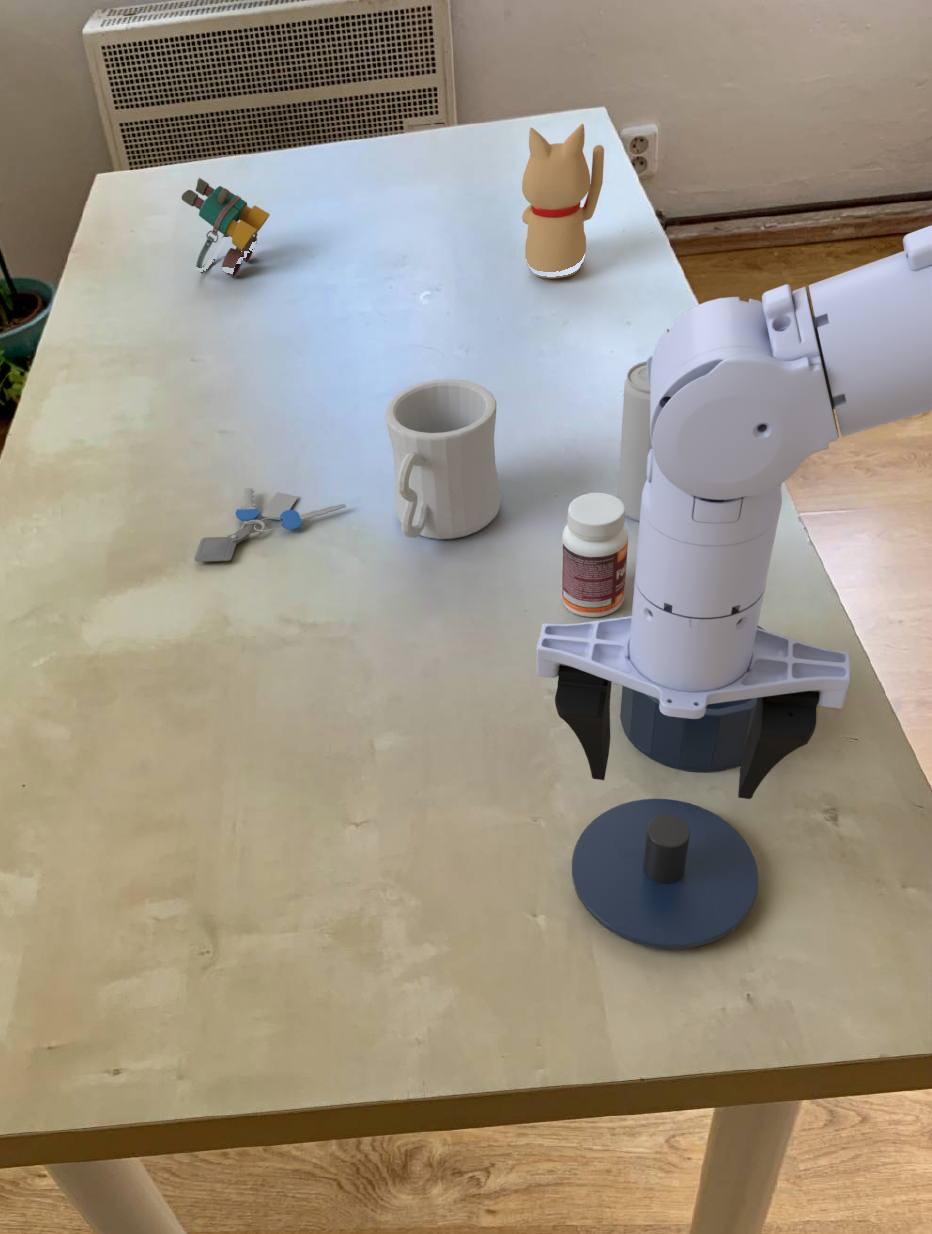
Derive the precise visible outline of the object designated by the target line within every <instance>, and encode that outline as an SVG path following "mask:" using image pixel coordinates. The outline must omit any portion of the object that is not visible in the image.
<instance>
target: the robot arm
mask: <svg viewBox="0 0 932 1234" xmlns="http://www.w3.org/2000/svg"><path fill="white" fill-rule="evenodd" d="M902 244H903V251H900V252H897V253H895V254H892V255H888V256H885V257H883V258H880V259H878V260H875V261H872V262H869V263H867V264H866V263H865V264H864V265H861V266H858V267H856V268H852V269H850V270H847V271H845V272H841V273H839V274H836V275H834V276H830V277H828V278H825V279H822V280H819V281H816V282H814V283H811V284H809V285H808V289H807V287H806V286H803V287H800V288H797V289H794V290H793V291H792V290H791V285H790V283H789V284H788V283H786V284H784V285H780V286H778V287H775V288H772V289H770V290H767V291H765V292H763V294H761V295H762V296H761V301H760V300H758V299H754V298H749V299H748V301H745V300H741V299H740V296H728V297H718V298H715V299H711V300H708V301H705V302H702V303H699V304H698V305H695V306H694V307H692V308H690V309H688V310H687V311H685V312H683V313H682V314H681V315H680V316H678V317H677V318H676V319H674V326H672V328H670V329H669V328H666V329H665V330H664V332H663V333H662V335H661V337H660V338H659V340H658V341H657V343H656V346H655V348H654V350H653V352H652V355H650V356H648V358H647V360H646V361H647V376H648V382H649V387H650V438H651V444H652V449H650V452H649V454H648V457H647V471H646V475H647V480H646V482H645V485H644V488H643V492H642V499H641V511H640V521H639V522H638V523H639V524H638V535H637V547H636V560H635V570H634V573H635V574H634V584H633V597H632V609H631V615H630V616H629V615H628V616H622V617H614V618H608V619H606V618H605V619H600V620H599V619H598V620H593V621H586V622H585V621H584V622H577V623H544V622H543V623H542V625H541V629H540V633H539V637H538V641H537V645H536V665H535V666H536V669H535V670H536V673H535V674H536V676H537V677H541V678H551V679H554V678H557V677H558V678H557V679H558V680H557V688H556V691H555V696H554V704H555V709H556V712H557V715H558V716H559V717H560V719H562V720H563V721H564V722H565V723H566V724H567V726H569V728H570V730H571V731H573V733H574V734H575V736H576V737H577V739H578V741H579V743H580V745H581V747H582V749H583V752H584V754H585V756H586V759H587V762H588V766H589V769H590V775H591V778H592V779H593V780H598V781H599V780H600V781H605V779H606V773H607V766H608V761H609V755H610V746H611V694H612V683H614V684H616V685H619V686H625V687H628V688H630V689H633V690H636V691H638V692H641V693H644V694H646V695H649V696H652V697H655V698H657V699H659V701H660V704H659V709H660V712H661V713H662V714H664V715H667V716H671V717H680V718H689V719H699V718H701V717H703V716H704V714H705V712H706V706H707V705H708V704H715V703H722V702H729V701H737V700H744V699H752V698H757V703H756V708H755V714H754V719H753V722H752V726H751V729H750V732H749V735H748V739H747V742H746V745H745V748H744V751H743V755H742V761H741V765H740V766H739V777H738V778H739V779H738V792H737V793H738V794H737V798H738V799H745V800H751V799H752V798H753V797H754V794H755V793H756V791H757V789H758V787H759V786H760V784H762V782H763V780H764V779H765V778H766V777H767V775H768V774H769V773H770V772H771V771H772V770H773V768H774V767H776V765H777V764H779V762H781V761H782V760H783V759H784V758H785V757H787V756H788V755H789V754H791V753H793V752H794V751H795V750H798V749H799V748H802V747H804V746H807V744H808V743H809V741H810V740H811V739H812V737H813V735H814V733H815V730H816V727H817V715H818V713H817V710H818V709H817V708H818V705H819V706H820V707H823V708H831V709H832V708H833V709H843V707H844V704H845V700H846V697H847V693H848V691H849V687H850V683H851V680H852V679H851V653H850V652H849V651H843V650H836V649H829V648H825V647H820V646H816V645H812V644H809V643H806V642H802V641H800V640H797V639H793V638H790V637H787V636H784V635H781V634H778V633H775V632H772V631H768V630H766V629H764V628H763V629H764V630H763V629H760V628H757V627H758V626H759V622H760V616H761V611H762V606H763V601H764V596H765V591H766V586H767V585H766V584H767V579H768V575H769V570H770V565H771V559H772V555H773V549H774V544H775V540H776V534H777V528H778V525H779V519H780V514H781V510H782V504H783V497H782V491H781V490H782V485H783V484H784V483H785V482H786V481H788V480H789V479H790V478H791V477H792V476H793V475H794V474H795V473H796V472H797V470H798V469H799V468H800V467H801V466H802V464H803V463H804V462H806V460H808V458H810V457H811V456H812V455H815V454H816V453H820V452H822V451H826V450H828V449H830V447H829V444H830V443H832V442H835V441H837V440H838V439H839V438H840V436H841V438H844V437H847V436H851V435H854V434H858V433H861V432H864V431H868V430H871V429H875V428H878V427H881V426H884V425H888V424H891V423H894V422H898V421H902V420H905V419H907V418H912V417H914V416H919V415H921V414H924V413H928V412H932V225H929V226H926V227H923V228H920V229H917V230H915V231H912V232H909V233H907V234H906V235H904V237H903V239H902ZM808 290H809V293H808ZM809 295H810V298H809ZM810 300H811V301H810ZM812 309H813V310H812ZM813 314H814V315H813ZM836 418H837V419H836ZM838 428H839V430H838ZM839 432H840V435H839Z"/></svg>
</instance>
